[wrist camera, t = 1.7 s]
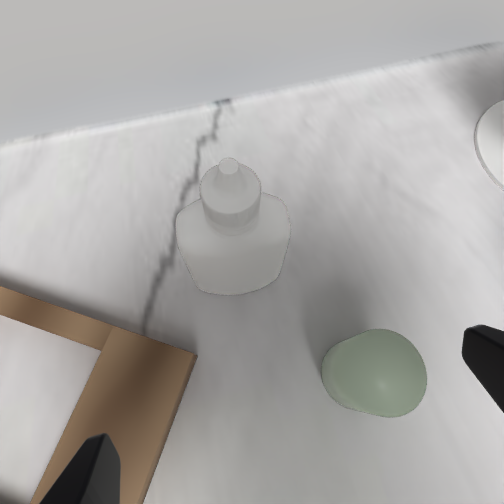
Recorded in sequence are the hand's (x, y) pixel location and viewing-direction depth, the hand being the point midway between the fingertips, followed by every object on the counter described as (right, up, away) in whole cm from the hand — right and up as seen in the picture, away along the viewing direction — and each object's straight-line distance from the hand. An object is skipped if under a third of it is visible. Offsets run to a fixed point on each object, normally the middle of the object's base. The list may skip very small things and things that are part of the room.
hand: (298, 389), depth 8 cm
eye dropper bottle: (-2, +2, +15) cm, 15 cm away
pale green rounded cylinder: (+5, -4, +13) cm, 14 cm away
